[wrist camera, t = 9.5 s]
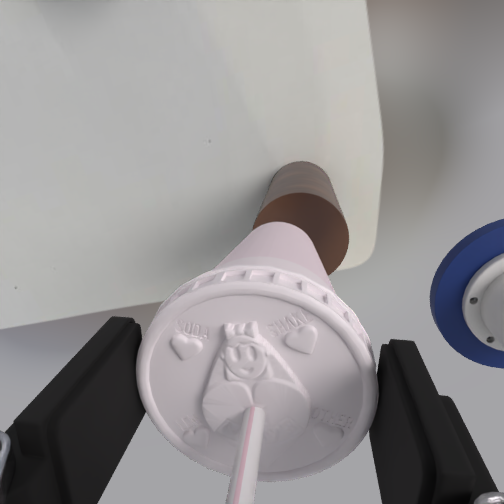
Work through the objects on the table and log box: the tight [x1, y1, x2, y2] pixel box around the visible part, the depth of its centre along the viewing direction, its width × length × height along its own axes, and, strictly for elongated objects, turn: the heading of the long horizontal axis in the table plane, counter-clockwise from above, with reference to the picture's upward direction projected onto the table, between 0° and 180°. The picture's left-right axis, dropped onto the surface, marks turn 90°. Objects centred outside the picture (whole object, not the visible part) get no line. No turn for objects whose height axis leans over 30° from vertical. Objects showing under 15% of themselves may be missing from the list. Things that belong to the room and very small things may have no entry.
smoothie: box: [136, 222, 378, 504], centre depth 12 cm, size 6×6×14 cm
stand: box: [252, 161, 349, 275], centre depth 34 cm, size 7×7×16 cm
